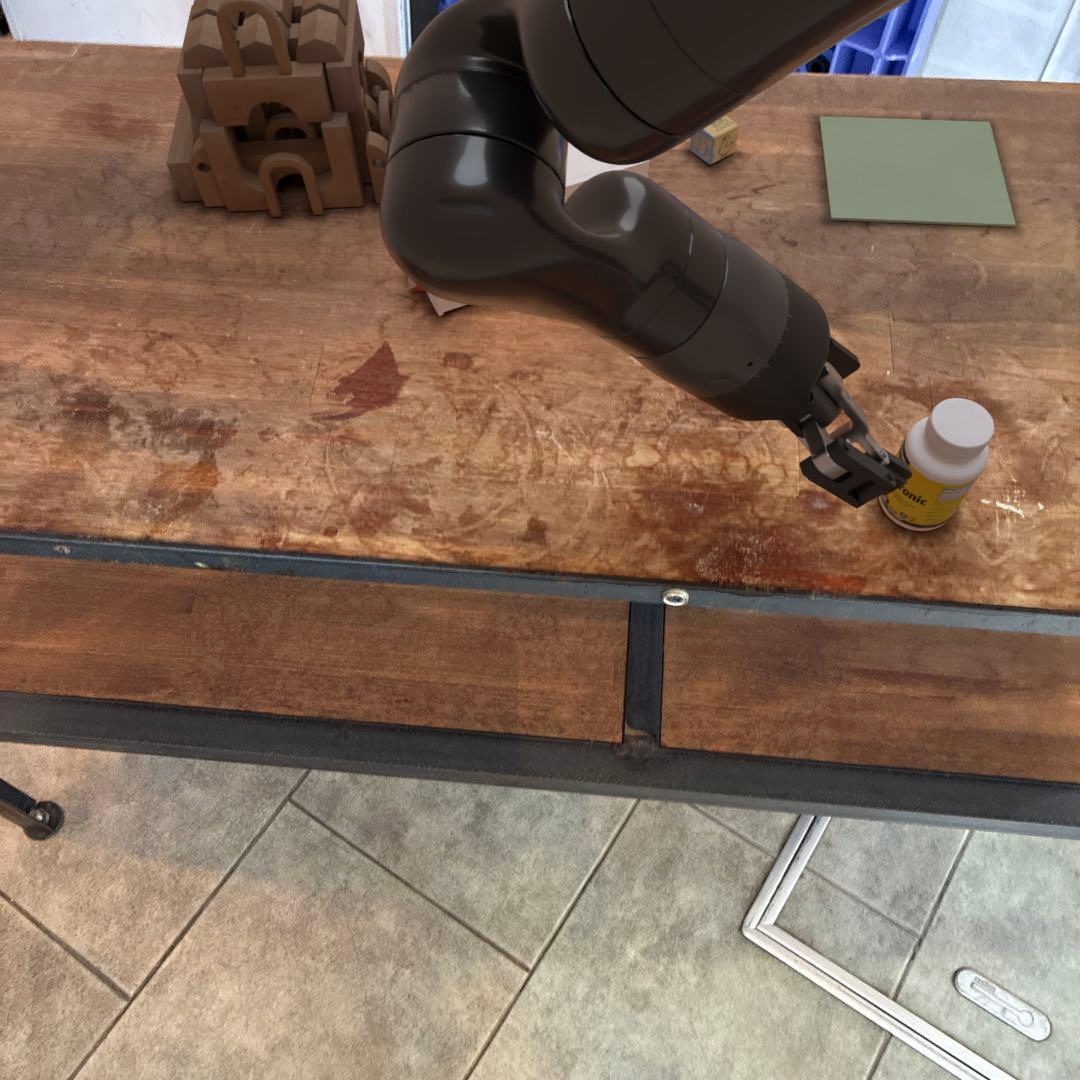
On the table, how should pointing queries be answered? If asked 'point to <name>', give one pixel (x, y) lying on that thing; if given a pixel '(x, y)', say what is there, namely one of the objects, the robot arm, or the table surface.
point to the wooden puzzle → (278, 105)
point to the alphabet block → (715, 140)
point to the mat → (914, 172)
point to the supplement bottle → (940, 464)
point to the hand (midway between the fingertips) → (870, 423)
